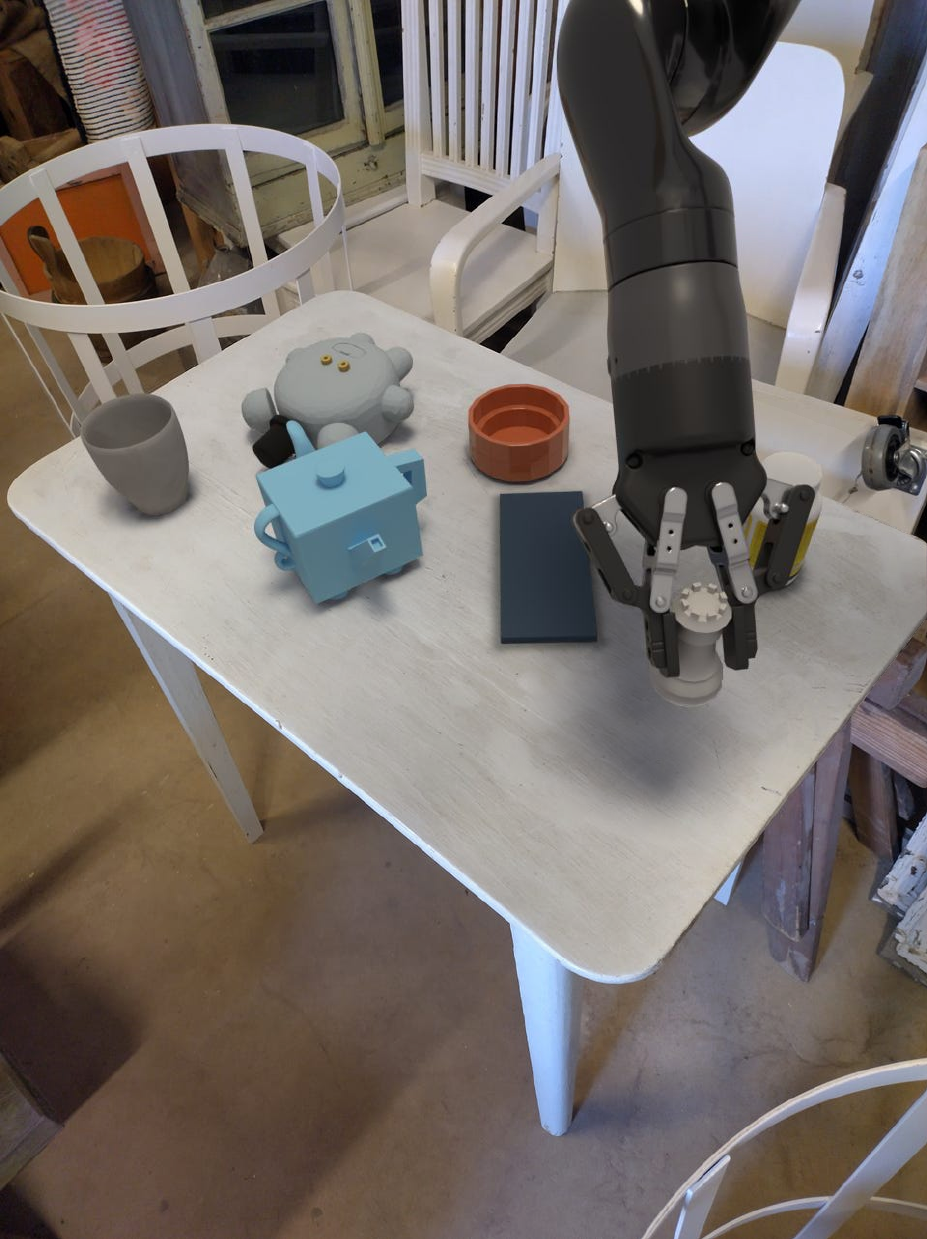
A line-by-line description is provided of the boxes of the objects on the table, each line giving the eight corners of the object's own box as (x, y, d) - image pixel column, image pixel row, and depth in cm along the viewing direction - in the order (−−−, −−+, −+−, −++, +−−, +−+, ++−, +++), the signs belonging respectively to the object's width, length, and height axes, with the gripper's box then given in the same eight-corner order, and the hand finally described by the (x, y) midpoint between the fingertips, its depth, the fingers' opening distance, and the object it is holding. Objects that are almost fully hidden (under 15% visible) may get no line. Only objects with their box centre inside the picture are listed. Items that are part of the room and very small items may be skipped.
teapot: (313, 654, 69) (281, 563, 61) (240, 531, 80) (205, 438, 71) (472, 579, 74) (464, 484, 65) (384, 471, 84) (367, 377, 76)
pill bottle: (813, 570, 72) (851, 473, 63) (764, 603, 70) (796, 507, 61) (760, 531, 75) (789, 435, 67) (711, 561, 73) (734, 465, 65)
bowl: (564, 421, 88) (566, 381, 84) (570, 483, 81) (572, 443, 77) (471, 425, 88) (469, 385, 84) (470, 486, 82) (467, 447, 78)
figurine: (340, 356, 97) (222, 461, 90) (321, 293, 91) (191, 401, 83) (455, 402, 90) (338, 521, 82) (444, 337, 83) (314, 460, 75)
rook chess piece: (676, 641, 53) (694, 557, 47) (735, 679, 51) (762, 596, 45) (634, 683, 52) (646, 601, 45) (693, 724, 49) (715, 644, 43)
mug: (222, 491, 84) (192, 414, 76) (151, 539, 80) (112, 462, 72) (155, 447, 89) (121, 370, 82) (86, 490, 85) (43, 413, 78)
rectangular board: (500, 499, 80) (500, 493, 80) (581, 496, 80) (582, 490, 79) (501, 643, 69) (501, 637, 68) (596, 641, 68) (597, 635, 68)
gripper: (561, 366, 42) (593, 697, 43) (835, 336, 42) (857, 668, 43) (545, 393, 49) (572, 674, 51) (777, 367, 49) (797, 649, 51)
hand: (703, 670), depth 47 cm, fingers closed on rook chess piece, 3 cm apart
